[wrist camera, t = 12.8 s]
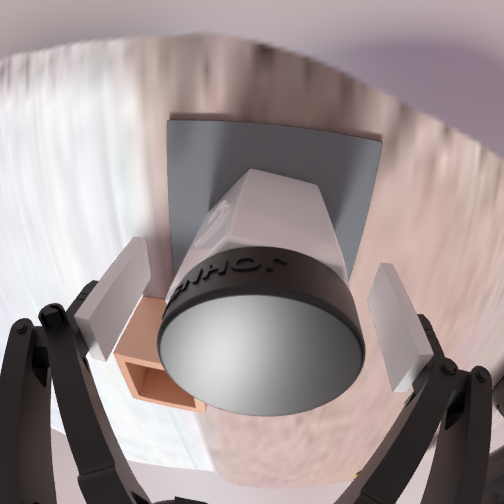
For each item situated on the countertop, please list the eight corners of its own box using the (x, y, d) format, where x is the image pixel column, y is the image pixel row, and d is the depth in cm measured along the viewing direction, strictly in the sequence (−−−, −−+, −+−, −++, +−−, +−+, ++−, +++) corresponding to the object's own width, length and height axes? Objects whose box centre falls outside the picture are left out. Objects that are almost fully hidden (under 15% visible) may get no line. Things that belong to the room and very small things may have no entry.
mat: (380, 141, 17) (382, 142, 17) (339, 305, 24) (339, 308, 24) (168, 120, 18) (166, 120, 17) (177, 288, 25) (175, 291, 25)
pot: (216, 307, 26) (200, 370, 20) (217, 355, 29) (205, 413, 23) (142, 296, 26) (113, 352, 20) (153, 345, 30) (133, 397, 24)
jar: (271, 140, 18) (260, 224, 7) (355, 223, 20) (411, 360, 10) (187, 231, 21) (118, 361, 11) (267, 294, 24) (256, 432, 14)
